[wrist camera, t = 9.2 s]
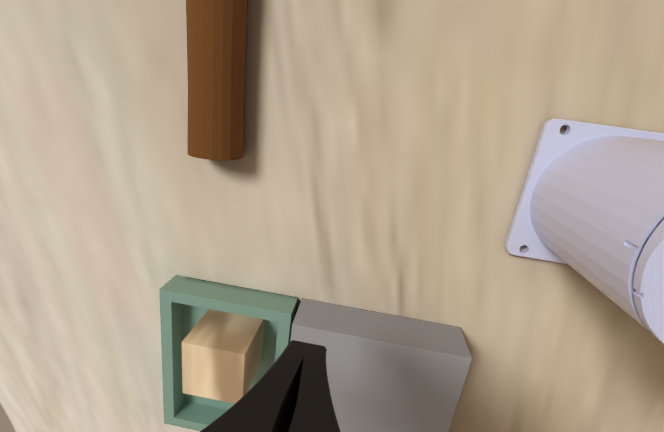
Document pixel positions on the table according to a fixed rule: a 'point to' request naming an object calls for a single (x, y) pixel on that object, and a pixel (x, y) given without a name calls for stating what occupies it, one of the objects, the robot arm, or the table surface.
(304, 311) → the slate plate
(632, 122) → the table surface
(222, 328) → the maple block
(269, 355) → the box
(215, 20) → the hammer
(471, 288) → the table surface
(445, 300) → the table surface
